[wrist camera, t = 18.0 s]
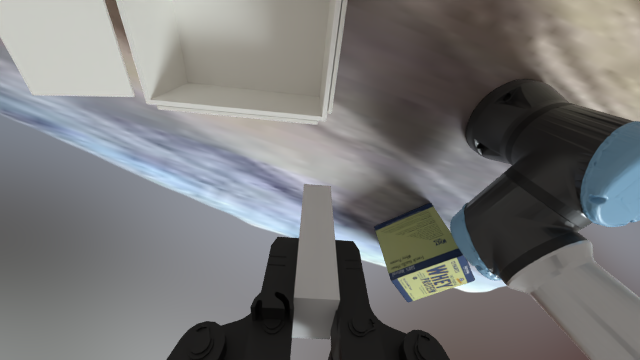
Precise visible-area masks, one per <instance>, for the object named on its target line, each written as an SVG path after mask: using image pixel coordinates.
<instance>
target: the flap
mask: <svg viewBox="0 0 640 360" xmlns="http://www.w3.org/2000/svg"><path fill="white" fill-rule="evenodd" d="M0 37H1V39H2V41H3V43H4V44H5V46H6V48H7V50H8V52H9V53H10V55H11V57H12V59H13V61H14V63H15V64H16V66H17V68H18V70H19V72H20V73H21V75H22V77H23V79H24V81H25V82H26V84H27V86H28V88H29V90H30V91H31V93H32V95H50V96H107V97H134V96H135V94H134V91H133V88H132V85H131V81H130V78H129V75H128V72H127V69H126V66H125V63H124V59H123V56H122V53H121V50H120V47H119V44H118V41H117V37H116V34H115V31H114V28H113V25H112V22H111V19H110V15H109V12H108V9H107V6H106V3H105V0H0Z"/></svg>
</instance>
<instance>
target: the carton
mask: <svg viewBox="0 0 640 360" xmlns="http://www.w3.org/2000/svg"><path fill="white" fill-rule="evenodd" d="M347 1H348V0H116V2H117V6H118V9H119V13H120V16H121V19H122V23H123V26H124V29H125V33H126V36H127V39H128V43H129V46H130V50H131V53H132V56H133V60H134V63H135V66H136V70H137V73H138V76H139V80H140V83H141V87H142V90H143V93H144V97H145V100H146V103H147V104H152V105H157V108H158V109H159V110H169V111H180V112H190V113H200V114H211V115H221V116H232V117H242V118H253V119H263V120H273V121H284V122H294V123H305V124H315V125H317V124H318V121H326V117H327V111H328V113H331V114H332V107H333V100H334V93H335V86H336V79H337V71H338V64H339V57H340V50H341V43H342V36H343V29H344V22H345V15H346V8H347Z"/></svg>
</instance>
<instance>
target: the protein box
mask: <svg viewBox="0 0 640 360" xmlns="http://www.w3.org/2000/svg"><path fill="white" fill-rule="evenodd" d="M374 228H375V231H376V234H377V238H378V241H379V244H380V247H381V250H382V253H383V257H384V260H385V263H386V266H387V269H388V273H389V276H390V279H391V281H392V283H393V284H394V285H395V287H396V288H397V289H398V290H399V292H400V293H401V294H402V296H403V297H404V298H405V300H406V301H407V302H411V301H414V300H417V299H420V298H423V297H426V296H429V295H432V294H435V293H437V292H441V291H444V290H447V289H450V288H453V287H456V286H460V285H463V284H466V283H469V282H472V281H474V280H475V278H474V276H473V274H472V271H471V269H470V266H469V264H468V261H467V259H466V258H465V257H464V255H463V254H462V252H461V251H460V249H459V248H458V246H457V245H456V243H455V241H454V239H453V237H452V234H451V232H450V231H449V229H448V228H447V226H446V225H445V223H444V222H443V220H442V219H441V217H440V216H439V214H438V213H437V211H436V210H435V208H434V207H433V205H432V203H429V204H426V205H424V206H422V207H419V208H417V209H415V210H413V211H410V212H408V213H405V214H403V215H401V216H398V217H396V218H394V219H391V220H389V221H387V222H384V223H382V224H380V225H377V226H375V227H374Z"/></svg>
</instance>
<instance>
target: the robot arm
mask: <svg viewBox="0 0 640 360" xmlns="http://www.w3.org/2000/svg"><path fill="white" fill-rule="evenodd" d="M466 137H467V141H468V144H469V146H470V147H471V148H472V149H473V150H474V151H475V152H477V153H478V154H479V155H481V156H483V157H485V158H487V159H491V160H495V161H500V162H504V163H508V164H511V165H512V166H511V167H510V168H509V169H508V170H507V171H506V172H504V173H503V174H502V175H501V176H500V177H498V178H497V179H496V180H495V181H494V182H492V183H491V184H490V185H489V186H488V187H486V188H485V189H484V190H483V191H482V192H480V193H479V194H478V195H477V196H476V197H474V198H473V199H472V200H471V201H470V202H469V203H466V204H465V205H464V206H463V207H462V209H461V210H460V211H459V212H458V213H457V214H456V215H455V216H454V217H453V218H452V220H451V223H450V230H451V234H452V237H453V239H454V241H455V243H456V245H457V246H458V248H459V249H460V251H461V252H462V254H463V255H464V257H465V258H466V259H467V260H468V261H469V263H470V264H471V265H473V266H475V267H476V269H477V270H478V271H479V272H480V273H481V274H482V275H483V276H485V277H487V278H489V279H491V280H503V282H504V283H505V284H506V285H507V286H508V287H509V288H511V289H515V290H519V291H522V292H525V293H527V294H529V295H531V296H532V297H533V299H534V300H536V302H537V303H538V304H539V305H540V306H541V307H542V308H543V309H544V311H545V312H546V313H547V314H548V315H549V316H550V317H551V318H552V319H553V320H554V321H555V322H556V324H557V325H558V326H559V327H560V328H561V329H562V330H563V331H564V332H565V333H566V334H567V336H568V337H569V338H570V339H571V340H572V341H573V342H574V343H575V344H576V345H577V346H578V347H579V349H580V350H582V352H583V353H584V354H585V355H586V356H587V357H588V358H589V359H590V360H640V297H638V296H637V295H636V294H634V293H633V292H632V291H631V290H629V289H628V288H627V287H626V286H624V285H623V284H622V283H621V282H619V281H618V280H617V279H616V278H614V277H613V276H612V275H611V274H609V273H608V272H607V271H606V270H604V269H603V268H602V267H601V266H599V265H598V264H597V263H596V262H595V260H594V259H593V245H592V243H591V242H590V241H588V240H587V239H585V238H584V237H583V236H582V235H580V234H579V233H578V231H579V230H581V229H582V228H584V227H586V226H587V225H589V224H591V223H592V222H593V223H595V224H599V225H603V226H608V227H618V226H624V225H627V223H629V222H636V221H639V220H640V122H637V121H631V120H628V119H624V118H621V117H617V116H614V115H610V114H607V113H603V112H600V111H596V110H593V109H589V108H586V107H582V106H578V105H575V104H572V103H569V102H568V101H567V100H566V99H565V98H564V97H563V96H562V95H560V94H559V93H558V92H557V91H556V90H555V89H554V88H553V87H551V86H550V85H548V84H545V83H543V82H539V81H535V80H529V79H523V80H516V81H512V82H509V83H507V84H504V85H502V86H500V87H499V88H497V89H495V90H494V91H493V92H491V93H490V94H489V95H487V96H486V97H485V98H484V99H483V100H482V101H481V102H480V103H479V105H478V106H477V107H476V108H475V110H474V111H473V113H472V115H471V117H470V119H469V122H468V125H467V130H466ZM330 335H331V351H330V354H329V358H328V360H450V359H449V358H448V356H447V354H446V352H445V351H444V349H443V347H442V346H441V345H440V343H439V342H438V341H437V340H436V339H435V338H434V337H433V336H431V335H430V334H429V333H427V332H424V331H422V330H412V331H411V332H409V333H407V334H406V333H403V332H401V331H398V330H396V329H393V328H391V327H389V326H387V325H385V324H383V323H382V322H381V321H380V320H378V319H377V317H376V316H375V315H374V313H373V312H372V310H371V308H370V304H369V299H368V295H367V289H366V284H365V278H364V273H363V269H362V263H361V257H360V252H359V249H358V248H357V246H356V245H355V243H354V242H353V241H342V240H335V234H334V222H333V209H332V197H331V186H322V185H310V184H304V191H303V202H302V213H301V224H300V235H299V238H288V237H277V239H276V240H275V241H274V243H273V244H272V245H271V249H270V254H269V259H268V263H267V268H266V272H265V277H264V281H263V286H262V290H261V293H260V294H259V295H258V296H257V297H256V298H255V299H254V301H253V303H252V305H251V313H250V314H249V315H248V316H246V317H245V318H243V319H241V320H238V321H235V322H232V323H229V324H225V325H222V326H220V325H219V324H217V323H216V322H209V321H206V322H202V323H199V324H196V325H195V326H193V327H192V328H190V329H189V330H188V331H187V332H186V333H185V334H184V335H183V336H182V338H181V339H180V340H179V342H178V344H177V345H176V346H175V348H174V349H173V351H172V352H171V354H170V355H169V357H168V358H167V360H290V354H291V341H292V338H316V339H330Z"/></svg>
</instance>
